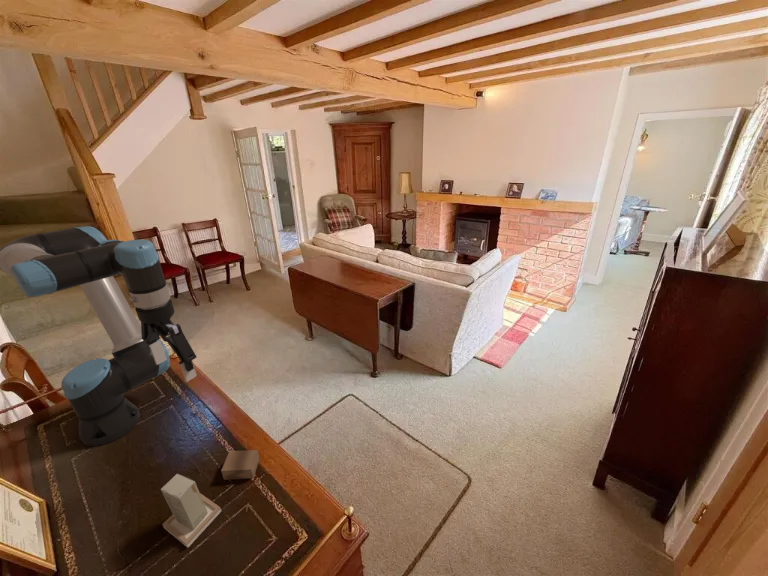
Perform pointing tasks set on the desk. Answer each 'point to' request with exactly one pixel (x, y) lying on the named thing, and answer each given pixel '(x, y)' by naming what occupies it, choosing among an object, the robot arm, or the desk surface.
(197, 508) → the skincare box
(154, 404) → the desk surface
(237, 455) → the walnut box
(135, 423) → the robot arm
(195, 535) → the picture frame
